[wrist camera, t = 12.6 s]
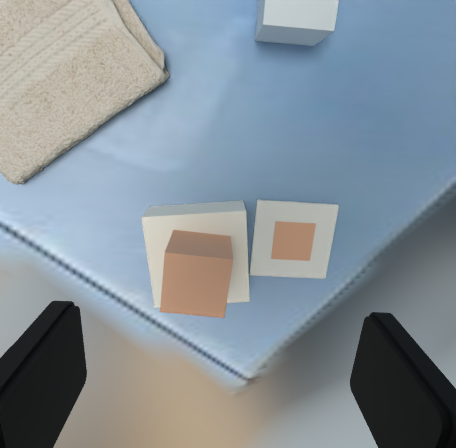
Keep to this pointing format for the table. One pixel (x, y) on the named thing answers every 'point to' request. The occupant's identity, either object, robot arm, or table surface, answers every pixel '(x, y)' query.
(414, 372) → the robot arm
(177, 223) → the base block
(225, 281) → the terracotta block
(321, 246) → the card
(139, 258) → the table surface
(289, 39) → the grey blue block
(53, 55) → the washcloth
